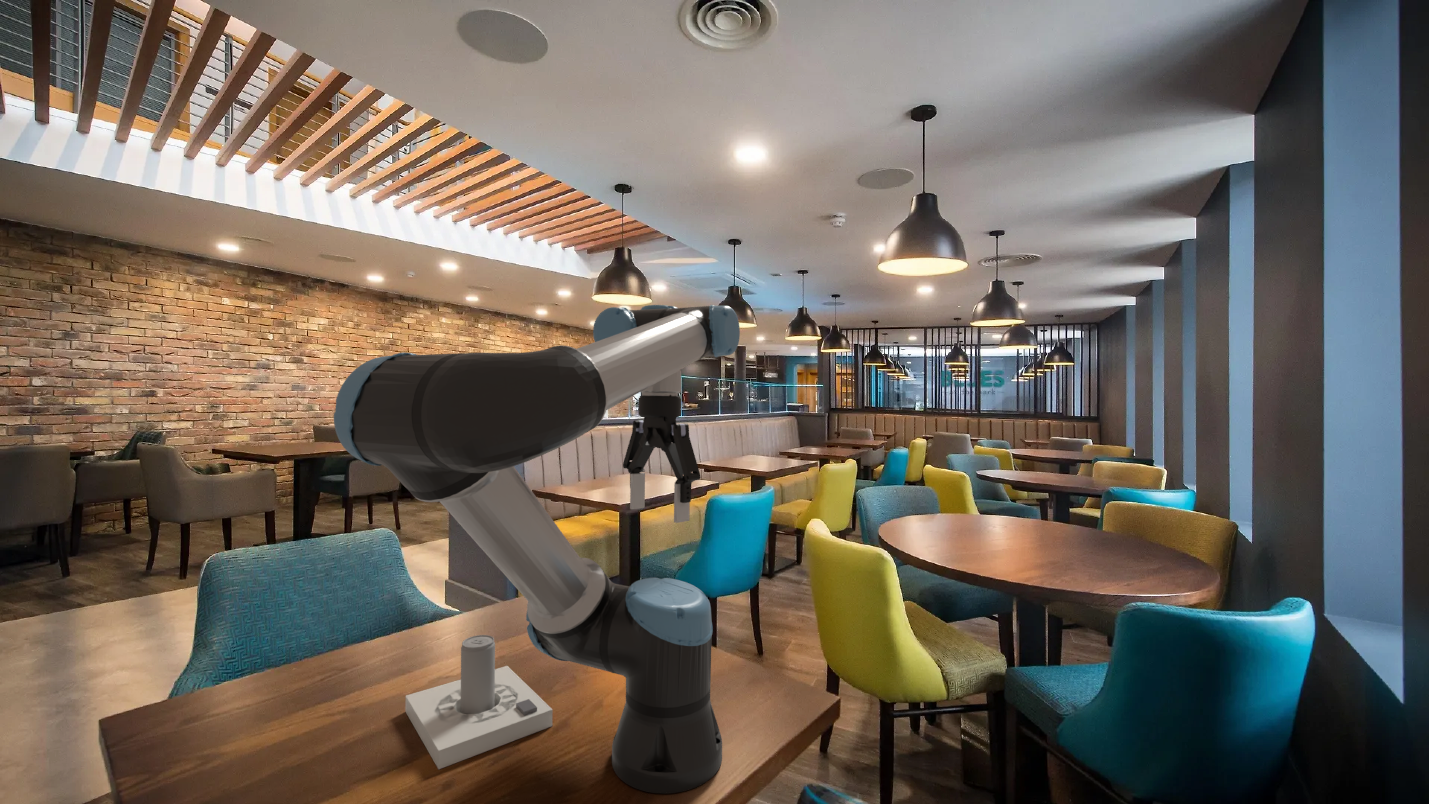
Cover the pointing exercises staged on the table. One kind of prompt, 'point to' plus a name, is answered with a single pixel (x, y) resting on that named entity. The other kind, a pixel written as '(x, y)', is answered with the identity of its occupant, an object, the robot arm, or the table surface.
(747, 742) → the table surface
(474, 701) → the beverage can
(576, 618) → the robot arm
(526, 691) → the socket plate
